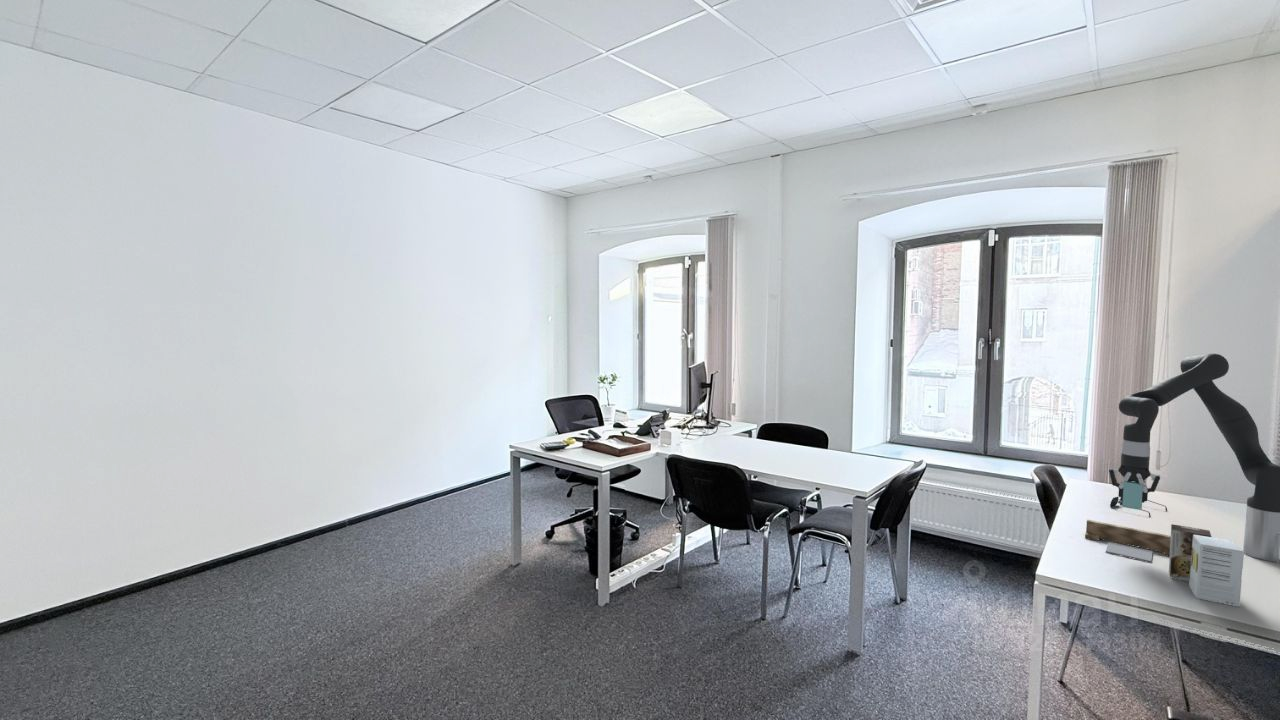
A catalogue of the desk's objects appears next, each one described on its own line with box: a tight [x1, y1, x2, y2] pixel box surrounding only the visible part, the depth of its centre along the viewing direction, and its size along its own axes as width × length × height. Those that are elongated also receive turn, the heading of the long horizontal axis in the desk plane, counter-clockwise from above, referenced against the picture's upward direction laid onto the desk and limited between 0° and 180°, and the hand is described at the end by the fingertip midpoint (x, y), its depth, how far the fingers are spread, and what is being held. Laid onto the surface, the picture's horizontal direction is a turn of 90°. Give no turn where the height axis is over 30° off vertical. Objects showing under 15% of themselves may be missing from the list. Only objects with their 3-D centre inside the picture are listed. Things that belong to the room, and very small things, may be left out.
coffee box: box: [1168, 523, 1213, 582], centre depth 177 cm, size 9×6×16 cm
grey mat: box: [1105, 541, 1154, 563], centre depth 197 cm, size 12×12×1 cm
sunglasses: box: [1109, 496, 1168, 518], centre depth 244 cm, size 17×15×5 cm
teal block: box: [1121, 481, 1143, 511], centre depth 196 cm, size 5×5×9 cm
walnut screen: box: [1084, 519, 1171, 557], centre depth 204 cm, size 26×8×6 cm, turn 45°
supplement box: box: [1188, 535, 1245, 608], centre depth 165 cm, size 10×9×17 cm
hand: (1132, 500), depth 196 cm, fingers closed on teal block, 5 cm apart
